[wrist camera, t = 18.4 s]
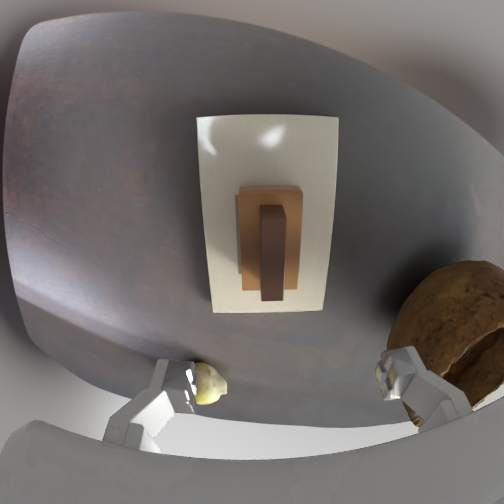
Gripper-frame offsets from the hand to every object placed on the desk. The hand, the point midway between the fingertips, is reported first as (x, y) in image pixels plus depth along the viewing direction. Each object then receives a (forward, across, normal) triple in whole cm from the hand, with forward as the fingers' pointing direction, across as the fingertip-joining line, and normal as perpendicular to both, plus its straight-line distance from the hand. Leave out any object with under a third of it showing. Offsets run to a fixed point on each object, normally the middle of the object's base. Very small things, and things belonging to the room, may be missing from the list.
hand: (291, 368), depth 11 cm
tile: (+18, 0, 0) cm, 18 cm away
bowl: (+18, -22, +12) cm, 31 cm away
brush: (+16, 0, +1) cm, 16 cm away
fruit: (+18, +10, +22) cm, 30 cm away
